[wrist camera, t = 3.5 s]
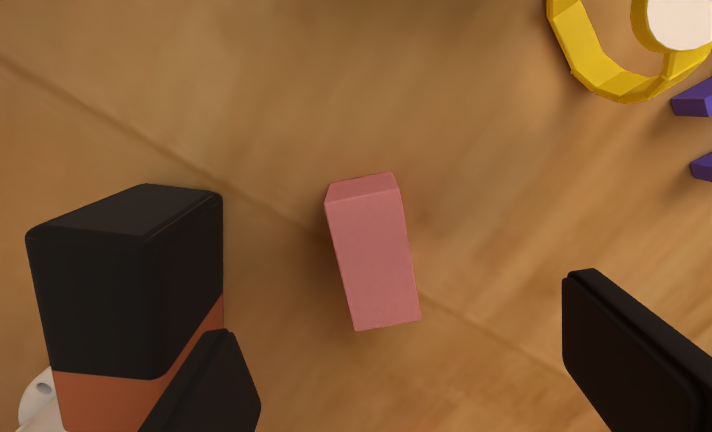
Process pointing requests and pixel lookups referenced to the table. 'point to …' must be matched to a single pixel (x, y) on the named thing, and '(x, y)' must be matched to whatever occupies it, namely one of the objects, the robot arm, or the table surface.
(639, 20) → the watch
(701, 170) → the puzzle piece
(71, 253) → the battery
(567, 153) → the table surface
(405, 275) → the eraser
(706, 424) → the robot arm
